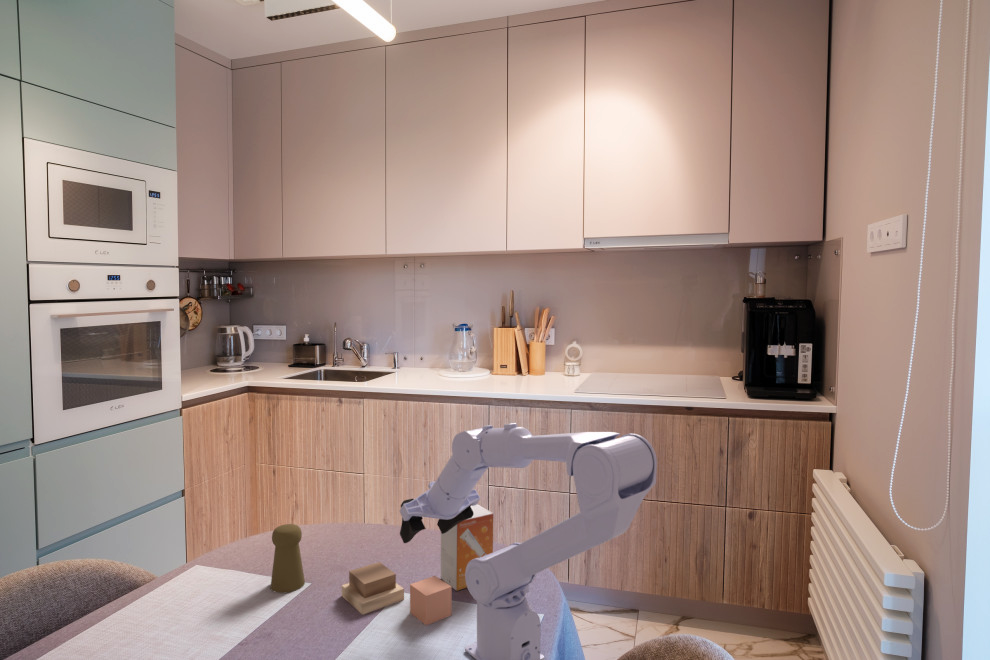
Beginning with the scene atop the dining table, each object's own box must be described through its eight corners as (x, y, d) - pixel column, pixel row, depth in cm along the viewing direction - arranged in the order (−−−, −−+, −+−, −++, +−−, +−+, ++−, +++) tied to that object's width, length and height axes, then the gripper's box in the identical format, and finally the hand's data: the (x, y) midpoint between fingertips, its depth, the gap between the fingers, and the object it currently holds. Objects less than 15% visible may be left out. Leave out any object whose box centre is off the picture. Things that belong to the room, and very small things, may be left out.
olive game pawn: (262, 588, 109) (261, 529, 109) (288, 574, 115) (287, 518, 114) (286, 595, 107) (285, 535, 106) (311, 581, 112) (311, 523, 111)
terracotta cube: (451, 615, 101) (451, 586, 100) (426, 625, 97) (426, 595, 97) (434, 603, 104) (434, 575, 104) (410, 613, 101) (410, 584, 101)
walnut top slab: (395, 587, 106) (395, 574, 106) (364, 598, 102) (364, 584, 102) (379, 575, 110) (379, 561, 110) (349, 584, 107) (349, 571, 107)
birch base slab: (404, 602, 106) (404, 588, 106) (362, 617, 101) (362, 603, 100) (381, 585, 112) (381, 572, 112) (341, 599, 107) (341, 585, 107)
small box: (456, 592, 108) (456, 521, 108) (439, 578, 114) (439, 510, 113) (493, 580, 113) (494, 512, 112) (476, 567, 118) (476, 502, 117)
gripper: (478, 459, 103) (447, 506, 110) (406, 470, 94) (376, 521, 101) (498, 492, 99) (464, 539, 106) (424, 508, 90) (392, 558, 97)
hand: (422, 533), depth 103 cm, fingers open, 7 cm apart
